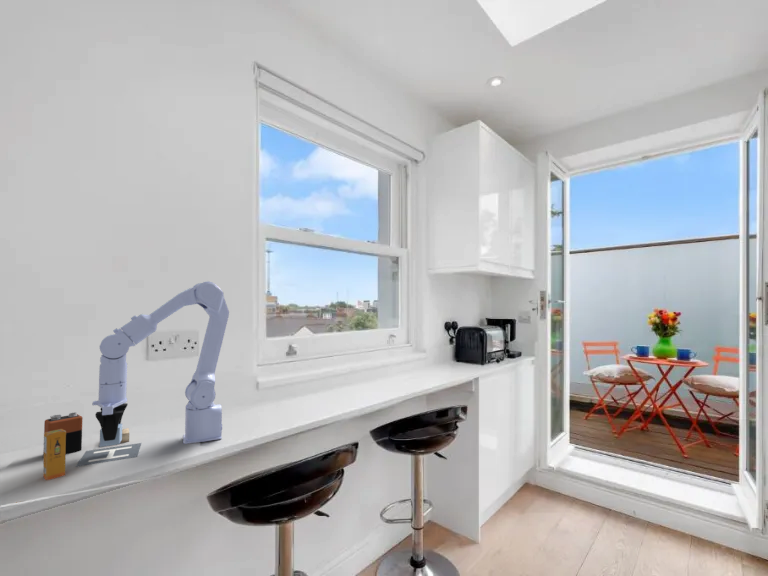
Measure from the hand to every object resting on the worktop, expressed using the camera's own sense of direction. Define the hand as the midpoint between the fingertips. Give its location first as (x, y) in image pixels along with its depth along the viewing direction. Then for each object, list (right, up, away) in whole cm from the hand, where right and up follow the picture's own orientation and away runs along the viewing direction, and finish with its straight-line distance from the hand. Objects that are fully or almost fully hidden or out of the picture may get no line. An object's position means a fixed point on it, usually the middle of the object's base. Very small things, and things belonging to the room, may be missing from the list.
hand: (111, 437), depth 95 cm
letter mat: (0, -5, 0) cm, 4 cm away
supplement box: (-4, -4, -12) cm, 14 cm away
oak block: (-5, -5, +9) cm, 12 cm away
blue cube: (0, -1, 0) cm, 1 cm away
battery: (-13, -5, +1) cm, 14 cm away
